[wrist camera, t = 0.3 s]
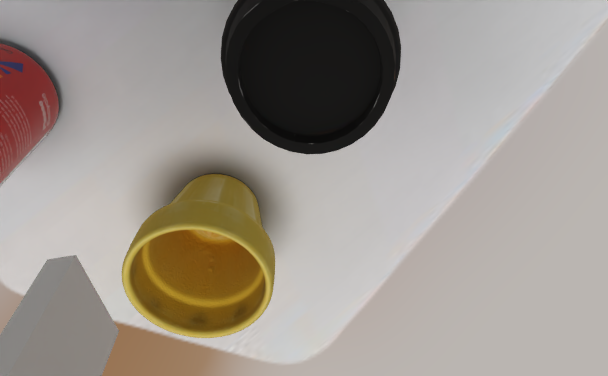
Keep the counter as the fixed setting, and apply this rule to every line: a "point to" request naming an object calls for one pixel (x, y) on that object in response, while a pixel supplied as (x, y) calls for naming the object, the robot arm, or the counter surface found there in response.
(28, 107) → the soda can
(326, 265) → the counter surface
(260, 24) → the coffee cup
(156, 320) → the plant pot
